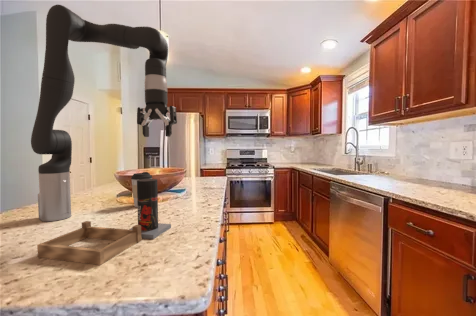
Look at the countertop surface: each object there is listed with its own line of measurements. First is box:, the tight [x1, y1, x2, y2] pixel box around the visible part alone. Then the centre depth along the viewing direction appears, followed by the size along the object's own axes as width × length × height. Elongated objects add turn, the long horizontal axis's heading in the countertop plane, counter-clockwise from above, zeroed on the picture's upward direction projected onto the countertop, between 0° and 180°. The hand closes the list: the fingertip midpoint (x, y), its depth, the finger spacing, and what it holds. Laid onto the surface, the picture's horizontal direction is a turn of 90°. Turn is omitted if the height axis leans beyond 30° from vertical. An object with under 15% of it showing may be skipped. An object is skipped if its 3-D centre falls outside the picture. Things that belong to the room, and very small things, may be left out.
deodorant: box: [137, 178, 159, 231], centre depth 74 cm, size 6×6×15 cm
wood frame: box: [36, 220, 143, 266], centre depth 62 cm, size 19×14×4 cm
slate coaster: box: [128, 222, 172, 240], centre depth 74 cm, size 10×10×1 cm
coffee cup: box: [130, 171, 153, 208], centre depth 108 cm, size 9×9×15 cm
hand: (157, 136), depth 84 cm, fingers open, 8 cm apart
